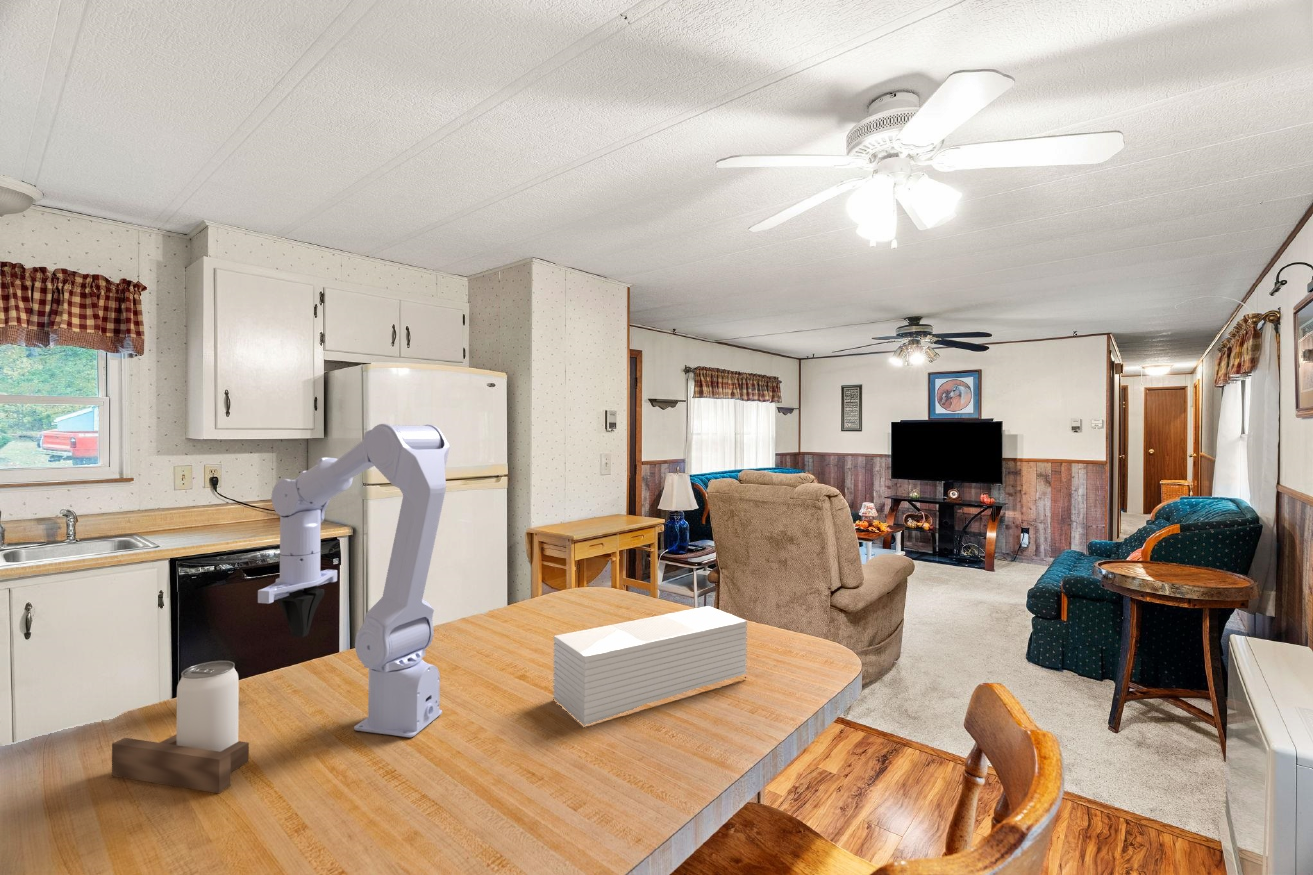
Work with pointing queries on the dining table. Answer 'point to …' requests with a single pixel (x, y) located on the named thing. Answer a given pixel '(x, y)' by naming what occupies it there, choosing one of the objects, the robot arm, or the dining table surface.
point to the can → (208, 706)
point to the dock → (177, 763)
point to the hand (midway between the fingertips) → (299, 635)
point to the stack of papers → (646, 661)
